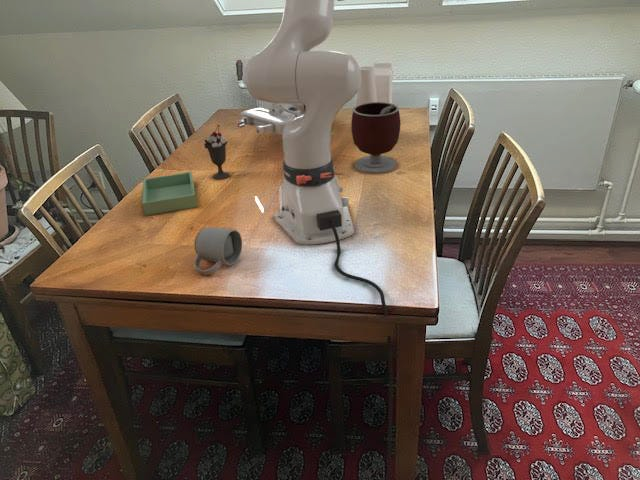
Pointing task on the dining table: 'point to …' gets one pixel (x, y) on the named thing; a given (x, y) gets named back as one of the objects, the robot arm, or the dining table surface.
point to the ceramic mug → (217, 247)
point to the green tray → (168, 193)
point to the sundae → (217, 152)
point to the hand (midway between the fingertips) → (248, 127)
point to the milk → (383, 82)
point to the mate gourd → (375, 135)
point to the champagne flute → (366, 86)
